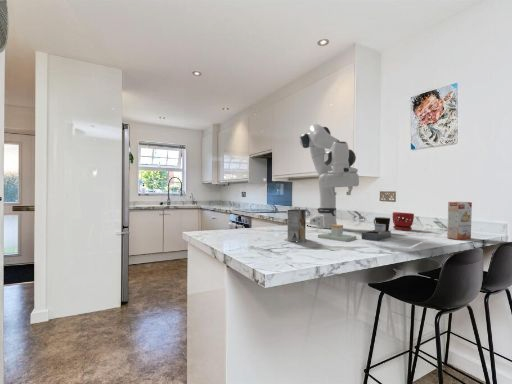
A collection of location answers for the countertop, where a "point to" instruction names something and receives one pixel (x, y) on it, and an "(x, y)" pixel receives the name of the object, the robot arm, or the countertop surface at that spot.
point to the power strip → (375, 235)
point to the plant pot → (403, 221)
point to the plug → (337, 230)
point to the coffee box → (296, 224)
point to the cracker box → (459, 220)
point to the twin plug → (380, 227)
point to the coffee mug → (382, 221)
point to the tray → (345, 237)
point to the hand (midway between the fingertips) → (341, 195)
